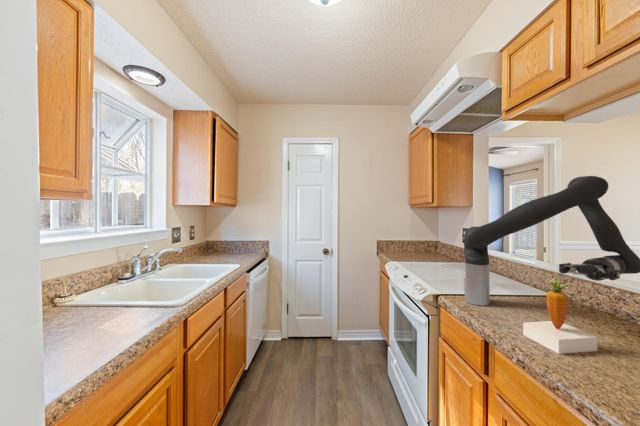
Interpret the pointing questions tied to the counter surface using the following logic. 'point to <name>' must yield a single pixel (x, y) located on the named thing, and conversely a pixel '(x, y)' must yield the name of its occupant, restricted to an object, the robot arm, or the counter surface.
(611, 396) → the counter surface
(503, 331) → the counter surface
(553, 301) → the carrot
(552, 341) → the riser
